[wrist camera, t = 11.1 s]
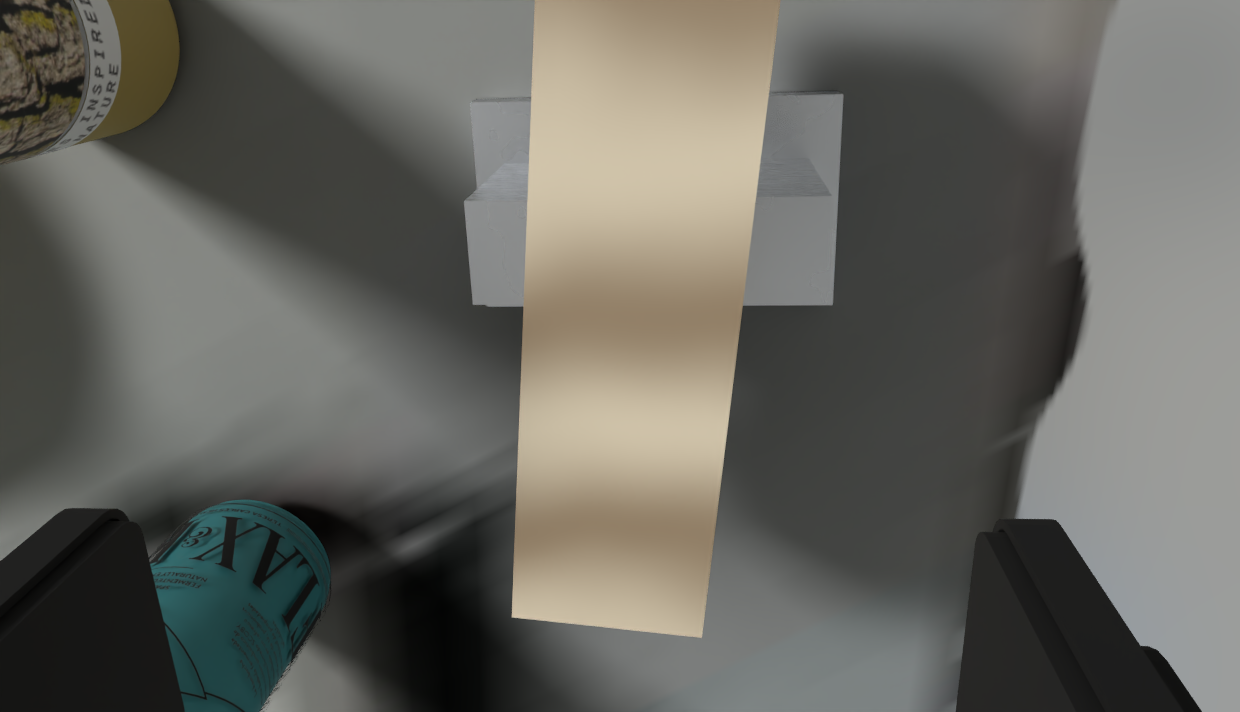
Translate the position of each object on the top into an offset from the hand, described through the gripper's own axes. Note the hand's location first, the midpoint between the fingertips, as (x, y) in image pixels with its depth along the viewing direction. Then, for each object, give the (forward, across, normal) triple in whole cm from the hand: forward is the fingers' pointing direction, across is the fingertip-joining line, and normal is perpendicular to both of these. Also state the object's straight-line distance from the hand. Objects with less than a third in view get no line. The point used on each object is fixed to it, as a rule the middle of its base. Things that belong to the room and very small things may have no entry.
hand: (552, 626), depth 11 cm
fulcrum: (+24, 0, 0) cm, 24 cm away
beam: (+17, 0, 0) cm, 17 cm away
